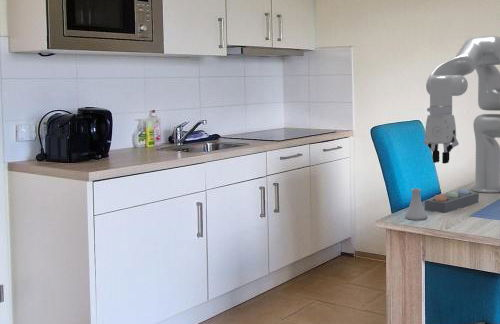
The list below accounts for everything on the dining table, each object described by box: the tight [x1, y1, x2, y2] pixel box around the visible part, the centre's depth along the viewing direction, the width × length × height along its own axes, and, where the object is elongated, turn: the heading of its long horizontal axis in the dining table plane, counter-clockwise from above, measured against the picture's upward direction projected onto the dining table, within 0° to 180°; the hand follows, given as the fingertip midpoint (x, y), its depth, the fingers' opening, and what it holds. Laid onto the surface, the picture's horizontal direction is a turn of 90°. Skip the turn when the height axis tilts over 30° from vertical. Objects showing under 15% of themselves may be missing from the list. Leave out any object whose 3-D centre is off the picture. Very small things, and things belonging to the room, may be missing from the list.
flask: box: [405, 188, 428, 221], centre depth 210 cm, size 7×7×10 cm
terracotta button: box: [434, 194, 447, 202], centre depth 222 cm, size 4×4×3 cm
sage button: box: [446, 191, 458, 198], centre depth 228 cm, size 4×4×3 cm
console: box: [424, 190, 480, 213], centre depth 228 cm, size 24×8×4 cm, turn 132°
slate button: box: [457, 188, 470, 195], centre depth 233 cm, size 4×4×3 cm
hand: (440, 162), depth 221 cm, fingers open, 3 cm apart
